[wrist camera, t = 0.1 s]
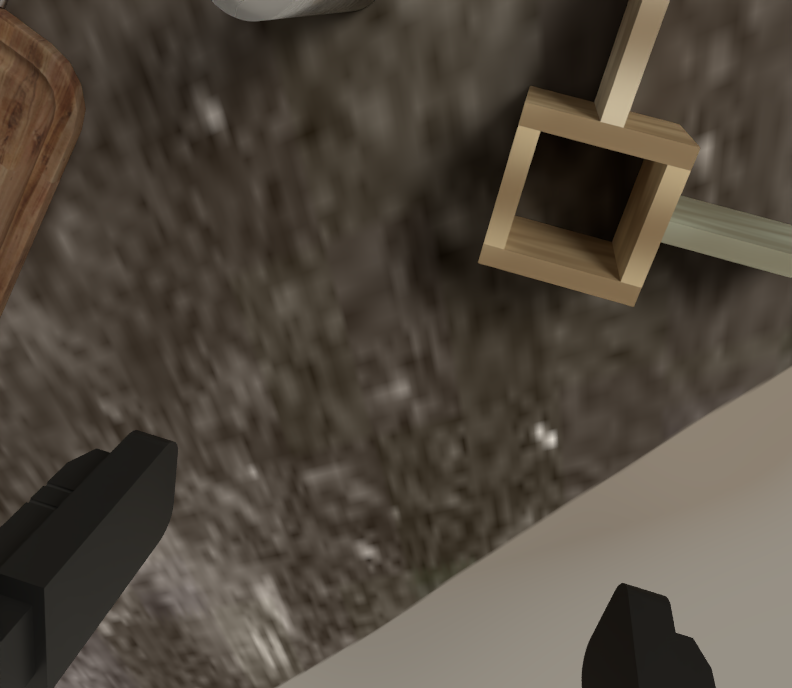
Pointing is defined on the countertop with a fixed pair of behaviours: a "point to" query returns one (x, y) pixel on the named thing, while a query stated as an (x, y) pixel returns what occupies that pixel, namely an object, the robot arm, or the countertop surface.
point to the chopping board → (31, 137)
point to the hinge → (650, 197)
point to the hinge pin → (286, 8)
